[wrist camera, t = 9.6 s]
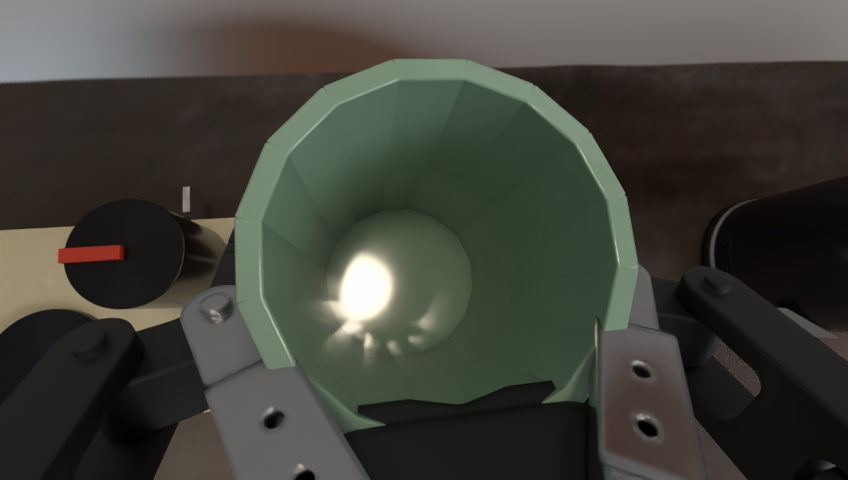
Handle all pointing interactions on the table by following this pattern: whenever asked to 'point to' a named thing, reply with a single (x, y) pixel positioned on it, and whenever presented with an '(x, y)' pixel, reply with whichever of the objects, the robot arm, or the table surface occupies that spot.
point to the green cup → (432, 240)
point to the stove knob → (140, 256)
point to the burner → (32, 343)
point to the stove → (48, 284)
